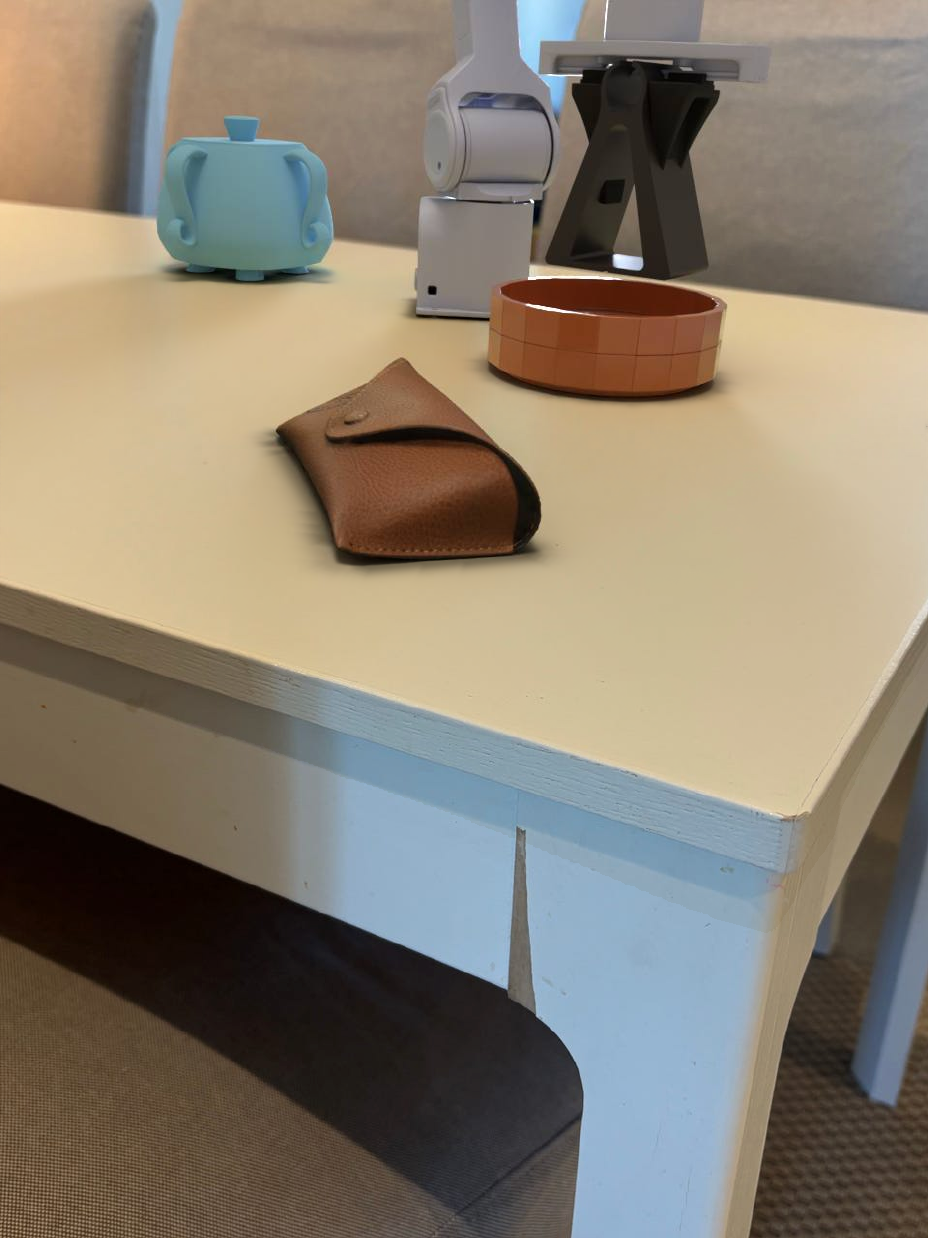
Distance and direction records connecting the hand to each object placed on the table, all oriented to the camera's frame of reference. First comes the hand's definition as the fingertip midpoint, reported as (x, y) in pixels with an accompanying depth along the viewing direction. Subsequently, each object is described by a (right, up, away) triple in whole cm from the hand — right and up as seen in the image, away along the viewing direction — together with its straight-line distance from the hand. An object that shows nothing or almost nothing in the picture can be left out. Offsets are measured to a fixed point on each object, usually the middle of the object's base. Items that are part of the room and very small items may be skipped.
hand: (633, 205), depth 68 cm
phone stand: (0, -4, +2) cm, 4 cm away
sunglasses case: (-14, -21, -19) cm, 31 cm away
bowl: (-2, -10, +3) cm, 11 cm away
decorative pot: (-32, +7, +35) cm, 48 cm away
